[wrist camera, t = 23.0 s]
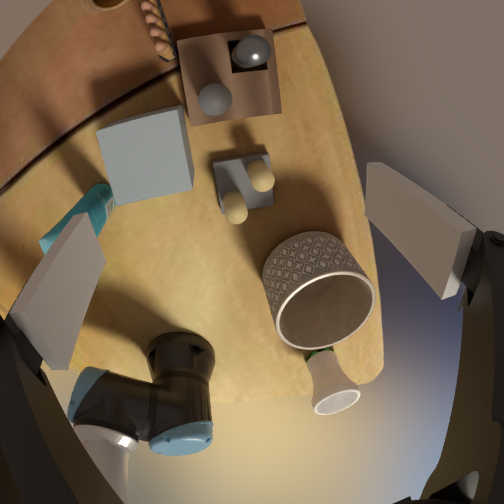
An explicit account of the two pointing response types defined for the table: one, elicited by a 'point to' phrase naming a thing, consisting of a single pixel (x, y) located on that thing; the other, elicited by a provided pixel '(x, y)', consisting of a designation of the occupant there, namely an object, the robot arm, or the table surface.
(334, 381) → the cup
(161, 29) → the ammunition clip
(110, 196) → the tube
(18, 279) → the table surface
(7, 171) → the table surface
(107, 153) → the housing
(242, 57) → the peg
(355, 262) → the planter
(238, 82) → the socket board
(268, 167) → the board
